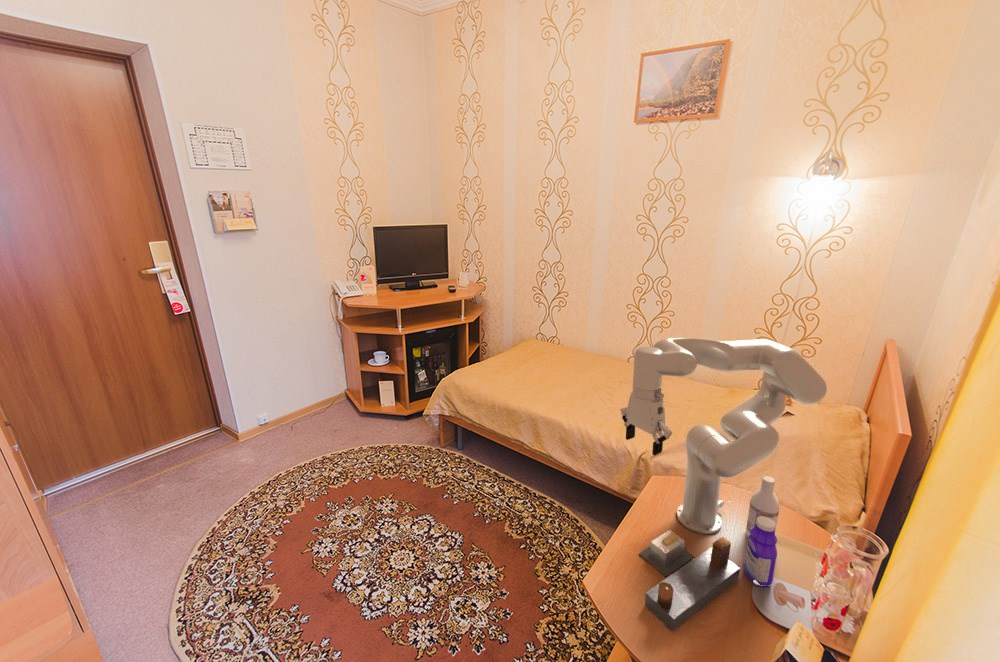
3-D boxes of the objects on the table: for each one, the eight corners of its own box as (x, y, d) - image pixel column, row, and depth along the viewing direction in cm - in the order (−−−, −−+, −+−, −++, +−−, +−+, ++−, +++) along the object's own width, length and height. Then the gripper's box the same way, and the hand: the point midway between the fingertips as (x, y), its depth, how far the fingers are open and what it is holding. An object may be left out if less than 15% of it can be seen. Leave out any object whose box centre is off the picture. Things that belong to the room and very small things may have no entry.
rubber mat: (667, 537, 121) (667, 535, 121) (694, 557, 113) (694, 556, 113) (639, 554, 115) (639, 553, 115) (665, 577, 108) (665, 575, 108)
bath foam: (758, 549, 115) (768, 489, 110) (739, 531, 122) (748, 474, 116) (779, 544, 117) (790, 484, 111) (759, 527, 123) (768, 469, 118)
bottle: (739, 564, 111) (747, 511, 106) (761, 566, 110) (770, 512, 105) (752, 588, 104) (761, 532, 99) (776, 589, 103) (786, 533, 98)
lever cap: (668, 542, 118) (669, 528, 117) (683, 554, 114) (685, 539, 113) (649, 554, 114) (650, 539, 113) (664, 567, 110) (666, 551, 109)
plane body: (709, 559, 113) (713, 529, 110) (738, 580, 106) (743, 549, 103) (644, 605, 100) (646, 573, 98) (672, 632, 94) (675, 598, 91)
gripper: (682, 399, 107) (677, 455, 112) (632, 378, 122) (629, 429, 127) (663, 406, 104) (659, 464, 109) (613, 384, 118) (611, 436, 123)
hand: (643, 445), depth 118 cm, fingers open, 9 cm apart
